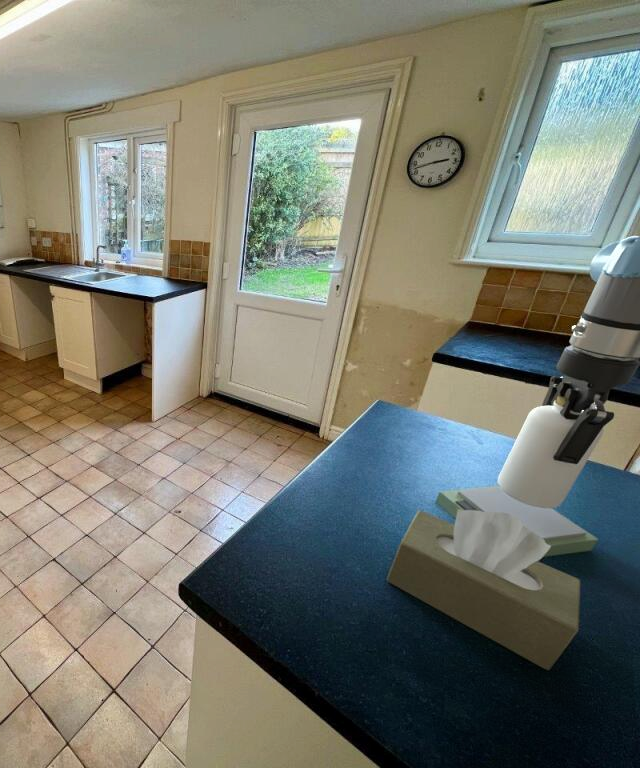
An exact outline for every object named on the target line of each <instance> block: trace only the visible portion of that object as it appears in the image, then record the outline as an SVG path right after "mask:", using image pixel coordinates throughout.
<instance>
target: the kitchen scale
mask: <svg viewBox="0 0 640 768" xmlns="http://www.w3.org/2000/svg"><path fill="white" fill-rule="evenodd" d="M434 501H435V503H436V504H437V505H439V506H440V507H441V508H442V509H443V510H444V511H445V512H447V513H448V514H449V515H450V516H451V517H452V518H454V519H455V520H456V516H457V509H461V510H476V511H483V512H504V513H508V514H511V515H513V516H516V517H517V518H518V519H519V520H520V521H521V522H522V524H523V526H525V527H526V528H528V529H529V530H531V531H532V532H534V533H536V534H537V535H539V536H540V537H541V538H542V539H544V540H545V543H546V544H548V545H550V546H551V547H550V549H549V550H548V551H547V552H546V554H545V555H544V556H543V557H542V558H546V557H553V556H559V555H568V554H574V553H583V552H590V551H592V550H593V548H594V547H595V545H596V544H597V542H598V541H599V539H598V538H597V536H594V535H593V534H591V533H590V532H588V531H587V530H585V529H584V528H583V527H581V526H580V525H578V524H576V523H575V522H573V521H572V520H570V519H569V518H567V517H566V516H564V515H562V514H561V513H560V512H558V511H557V510H556V509H554V508H539V507H534V506H530V505H527V504H524V503H522V502H520V501H518V500H515V499H514V498H512V497H510V496H509V495H507V494H506V493H505V492H504V491H503V490H502V489H501V488H500V486H499V485H497V484H496V485H488V486H487V485H486V486H479V487H478V486H477V487H470V488H469V487H468V488H460V489H451V490H442V491H439V492H438V493H437V497H436V499H435V500H434ZM456 508H457V509H456Z"/></svg>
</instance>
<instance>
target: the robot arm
mask: <svg viewBox="0 0 640 768" xmlns="http://www.w3.org/2000/svg"><path fill="white" fill-rule="evenodd" d="M589 276H590V277H591V279H592V280H593V281H594V282H595V283H596V284H595V286H594V288H593V290H592V293H591V295H590V296H589V299H588V301H587V303H586V305H585V308H584V310H583V312H582V314H581V316H580V318H579V320H578V321H577V324H576V325H572V326H571V332H573V333H572V334H571V336H570V339H569V340H568V342H569V344H570V345H568V346H566V347H564V350H563V351H562V354H561V356H560V358H559V360H558V361H557V364H556V370H557V371H558V372H559V373H560V374H562V375H563V376H556V375H553V376H551V377H550V380H549V384H548V389H547V391H546V394H545V396H544V399H543V400H542V401H543V402H542V404H541V406H554V404H553V403H554V401H555V400H556V401H557V398H558V396H561V397H564V398H565V404H564V405H563V406H562V407H563V409H562V410H561V411H560V414H561V415H562V416H563V417H565V418H566V419H570V420H576V421H575V423H574V424H573V426H572V427H571V429H570V430H569V432H568V434H567V435H566V437H565V438H564V440H563V441H562V443H561V444H560V446H559V448H558V450H557V452H556V454H555V455H554V456H553V459H554V460H556V461H561V462H566V463H571V464H578V463H579V461H580V460H581V458H582V457H583V456H584V454H585V453H586V451H587V450H588V448H589V447H590V445H591V444H592V443H593V441H594V440H595V438H596V437H597V435H598V434H599V433H600V431H601V430H602V428H603V429H604V427H605V426H606V425H607V424H609V423H610V422H611V421H612V420H614V418H615V412H614V411H609V410H606V409H605V406H604V405H605V404H606V402H607V401H608V399H609V394H610V391H611V389H613V388H616V387H623V386H626V385H628V384H630V382H631V380H632V379H633V377H634V375H635V373H636V372H637V370H638V369H639V366H640V235H633V236H629V237H626V238H624V239H622V240H618V241H615V242H612V243H610V244H607V245H606V246H604V247H603V248H601V249H600V250H599V251H598V252H597V253H596V254H595V256H594V257H593V258H592V260H591V263H590V265H589ZM570 410H572V411H573V412H576V413H581V415H575V414H571V413H570Z"/></svg>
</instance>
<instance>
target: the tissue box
mask: <svg viewBox="0 0 640 768" xmlns="http://www.w3.org/2000/svg"><path fill="white" fill-rule="evenodd" d="M456 509H457V508H456ZM550 547H551V546H550V545H548V544H546V543H545V540H544V539H542V538H541V537H540V536H539V535H537V534H536V533H534V532H532V531H531V530H529V529H528V528H526V527H525V526H523V524H522V522H521V521H520V520H519V519H518V518H517V517H516V516H513V515H511V514H508V513H504V512H483V511H476V510H461V509H457V516H456V519H455V522H454V524H453V523H451V522H449V521H447V520H444V519H442V518H440V517H437V516H435V515H433V514H430V513H428V512H426V511H423V510H421V509H418V510H417V511H416V513H415V515H414V517H413V519H412V521H411V522H410V524H409V526H408V527H407V530H406V532H405V534H404V535H403V537H402V539H401V541H400V543H399V544H398V547H397V549H396V552H395V554H394V557H393V560H392V563H391V566H390V568H389V571H388V574H387V576H386V579H385V580H386V581H387V582H388V583H389V584H391V585H393V586H395V587H397V588H399V589H401V590H402V591H404V592H406V593H407V594H410V595H411V596H413V597H415V598H416V599H418V600H420V601H422V602H424V603H425V604H427V605H429V606H431V607H433V608H434V609H436V610H438V611H439V612H442V613H443V614H445V615H446V616H449V617H451V618H452V619H454V620H456V621H458V622H459V623H461V624H463V625H465V626H466V627H469V628H470V629H472V630H474V631H475V632H477V633H479V634H481V635H483V636H484V637H486V638H488V639H490V640H492V641H493V642H495V643H497V644H499V645H501V646H503V647H504V648H506V649H508V650H509V651H511V652H513V653H515V654H517V655H518V656H520V657H522V658H524V659H526V660H527V661H530V662H531V663H533V664H535V665H537V666H539V667H540V668H542V669H544V670H545V669H546V671H550V670H551V669H552V667H553V666H554V665H555V663H556V662H557V660H558V659H559V658H560V657H561V655H562V654H563V653H564V652H565V650H566V648H567V647H568V646H569V645H570V644H571V642H572V641H573V639H574V637H575V636H576V635H577V633H578V632H579V628H580V627H579V625H580V624H579V623H580V603H581V602H580V601H581V583H582V581H581V580H580V579H579V578H577V577H575V576H573V575H570V574H568V573H566V572H563V571H562V570H559V569H556V568H554V567H552V566H550V565H547V564H545V563H543V562H541V561H540V560H541V559H542V558H544V557H543V556H544V555H545V554H546V552H547V551H548V550H549V549H550Z"/></svg>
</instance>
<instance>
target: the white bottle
mask: <svg viewBox="0 0 640 768" xmlns="http://www.w3.org/2000/svg"><path fill="white" fill-rule="evenodd" d="M553 404H554V406H542V405H541V406H537V407H534V408H533V409H532V410H530V412H529V413H528V414H527V417H526V419H525V421H524V423H523V425H522V427H521V429H520V431H519V433H518V435H517V438H516V439H515V442H514V444H513V446H512V448H511V450H510V451H509V454H508V456H507V458H506V460H505V462H504V464H503V466H502V468H501V471H500V472H499V475H498V477H497V484H498V485H499V486H500V488H501V489H502V490H503V491H504V492H505V493H506V494H507V495H509V496H510V497H512V498H514V499H515V500H518V501H520V502H522V503H524V504H527V505H530V506H534V507H539V508H552V509H554V508H558V507H560V506H561V505H562V504H563V502H564V501H565V499H566V498H567V496H568V494H569V493H570V491H571V490H572V487H573V486H574V484H575V482H576V481H577V479H578V477H579V475H580V474H581V472H582V470H583V469H584V467H585V465H586V464H587V462H588V460H589V459H590V457H591V455H592V454H593V452H594V450H595V449H596V447H597V445H598V444H599V442H600V441H601V438H602V436H603V435H604V431H605V430H604V427H603V428H602V430H601V431H600V433H599V434H598V435H597V437H596V438H595V440H594V441H593V443H592V444H591V445H590V447H589V448H588V450H587V451H586V453H585V454H584V456H583V457H582V458H581V460H580V461H579V463H578V464H571V463H566V462H561V461H556V460H554V459H553V456H554V455H555V454H556V452H557V450H558V448H559V446H560V444H561V443H562V441H563V440H564V438H565V437H566V435H567V434H568V432H569V430H570V429H571V427H572V426H573V424H574V423H575V421H576V420H570V419H566V418H565V417H563V416H562V415H561V414H560V411H561V410H562V409H563V407H562V406H563V405H564V404H565V398H564V397H561V396H558V398H557V401H556V400H555V401H554V403H553ZM570 413H571V414H575V415H581V413H576V412H573V411H572V410H570Z"/></svg>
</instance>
